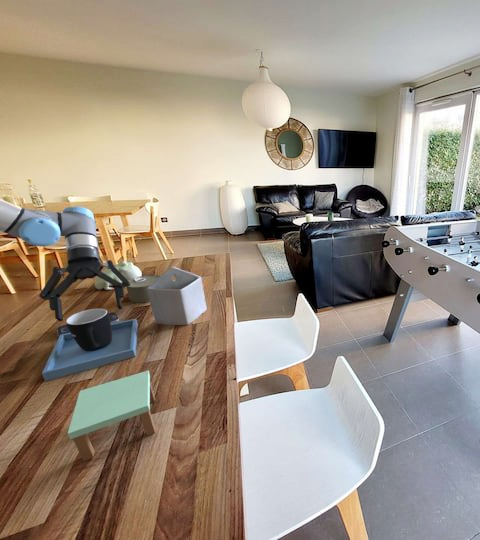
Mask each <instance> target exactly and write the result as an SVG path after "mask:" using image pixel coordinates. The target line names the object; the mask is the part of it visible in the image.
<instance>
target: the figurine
mask: <svg viewBox="0 0 480 540" xmlns="http://www.w3.org/2000/svg"><path fill="white" fill-rule="evenodd" d="M114 266H115V268H116V269H117V270H118V271H119V272H120V273H121V274H122V275H123V276H124V277H125V278H126V279H127V280H128V281H129V280H131V279H133V278H136V277H140V276H143V275H142V274H143V273H142V271H141V270H140V268H139V267H138V266H136V265H134V263H133V262H132V261H129V262H128V261H125V260H124V259H123V260H120V263H118V264H114ZM102 272H103V273H104V274H106V275H108V276H109V277H111V278H113V279H114V280H116V281H118V282H119V283H122V281H121V280H120V279H119V278H118V277H117V276H116V275H115V274H114V273H113V272H112V271H111V269H107V268H106V269H104V270H103V271H102ZM114 287H115V286H114V285H112V284H110V283H109V282H107V281H105V280H103V279H101V278H99V277H98V276H96V278H95V280H94V288H95V289H97V290H102V289H104V290H105V291H110V290H115V289H114Z"/></svg>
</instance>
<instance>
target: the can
mask: <svg viewBox="0 0 480 540" xmlns="http://www.w3.org/2000/svg"><path fill="white" fill-rule="evenodd" d="M160 276H161V275H157V274H147V275H142V276H140V277H136V278H133V279H131V280H129V283H130V286H127V287H125V288H126V291H127V294H128V297H129V300H130V302H132V303H138V304H141V303H143V304H144V303H149V302H150V299H149V295H148V291H147V288H148V287H149V286H150V285H151V284H152V283H153V282H154V281H155V280H156V279H157V278H159V277H160Z"/></svg>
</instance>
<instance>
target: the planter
mask: <svg viewBox="0 0 480 540" xmlns="http://www.w3.org/2000/svg"><path fill="white" fill-rule="evenodd" d="M159 276H160V277H159V278H157V279H156V280H155V281H154V282H153V283H152V284H151V285H150V286H149V287H148V288H147V291H148V295H149V299H150V301H149V302H150V306H151V311H152V314H153V317H154V318H153V319H154V321H155V324H156V325H168V326H189V325H190V324H191V323H193V322H194V321H196V320H197V319H198V318H200V317H201V316H202V313H203V314H204V313H205V312H206V311H207V310H208V307H207V303H206V296H205V291H204V286H203V281H202V276H200V275H198V274H195V273H193V272H190V271H187V270H184V269H181V268H178V267H175V266H171V267H169V268H168V269H166V270H165V271H164V272H163V273H162V274H161V275H159ZM174 278H175V280H173V279H174Z"/></svg>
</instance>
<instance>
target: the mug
mask: <svg viewBox="0 0 480 540" xmlns="http://www.w3.org/2000/svg"><path fill="white" fill-rule="evenodd" d="M108 313H109V312H108V310H107V309H105V308H91V309H85V310H82V311H79V312H77V313H74V314H72V315H70V316H68V317H67V319H66V320H65V325H66V324H67V326H68V329H69V331H70V333H71V334H72V336H73V338H74V339H75V341H76V342H77V344H78V345H79V346H80V348H82V349H83V350H85V351H96V350H99V349H102V348H104V347H106V346H107V345H109V344H110V343H111V340H112V328H111V324H112V323H110V318H109V315H108Z"/></svg>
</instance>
